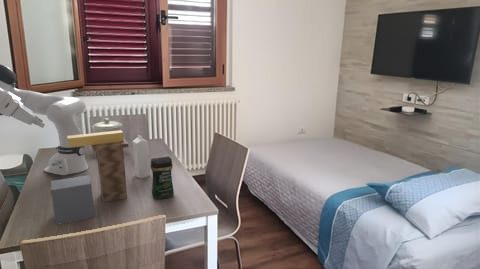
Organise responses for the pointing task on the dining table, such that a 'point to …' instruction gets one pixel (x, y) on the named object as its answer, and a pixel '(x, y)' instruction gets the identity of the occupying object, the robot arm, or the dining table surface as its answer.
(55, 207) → the podium
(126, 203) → the dining table surface
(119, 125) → the canister
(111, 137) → the yellow bar
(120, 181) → the walnut stand
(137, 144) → the milk
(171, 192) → the coffee jar
